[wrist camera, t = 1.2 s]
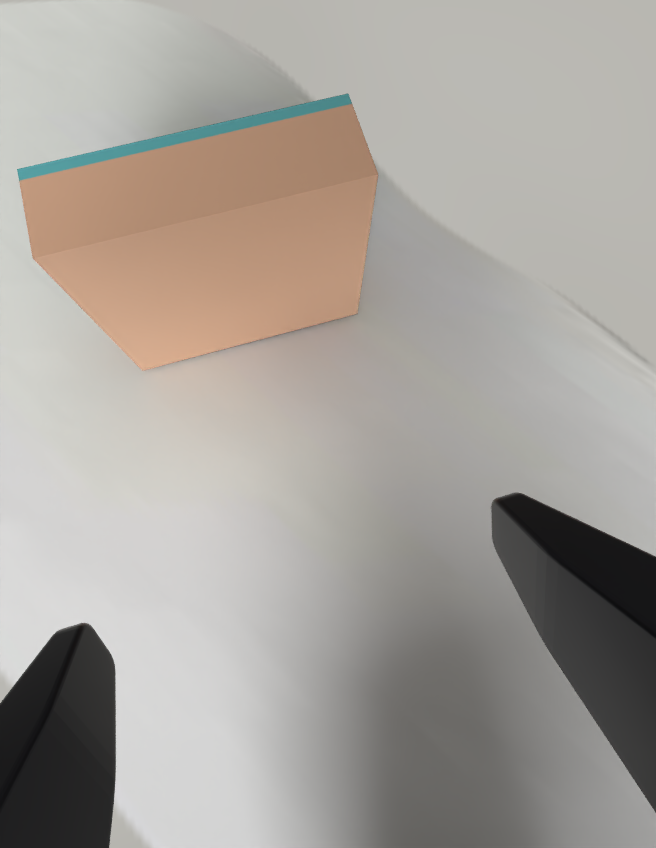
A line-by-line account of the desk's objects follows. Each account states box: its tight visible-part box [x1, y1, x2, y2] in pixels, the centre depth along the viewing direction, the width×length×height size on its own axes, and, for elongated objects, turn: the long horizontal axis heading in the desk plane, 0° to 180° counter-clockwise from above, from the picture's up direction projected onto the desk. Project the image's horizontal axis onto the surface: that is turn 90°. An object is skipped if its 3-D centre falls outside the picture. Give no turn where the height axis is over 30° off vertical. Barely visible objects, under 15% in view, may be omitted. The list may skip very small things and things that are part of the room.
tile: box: [17, 94, 378, 371], centre depth 19 cm, size 3×10×9 cm, turn 107°
